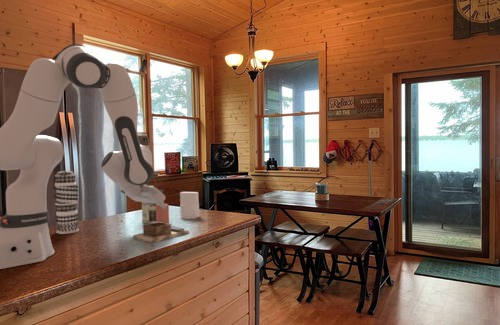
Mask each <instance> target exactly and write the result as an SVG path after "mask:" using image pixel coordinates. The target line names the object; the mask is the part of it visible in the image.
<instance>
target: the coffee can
mask: <svg viewBox="0 0 500 325" xmlns="http://www.w3.org/2000/svg"><path fill="white" fill-rule="evenodd" d="M158 190H159V191H160V192H161V193H163V194H164V195H165V190H164V189H158ZM163 202H164V203H165V200H164V201H163ZM141 214H142V215H141V216H142V223H144V224H150V223H155V222H156V204H154V203H153V205H152V207H148V206H147V205H146V204H144V203H142V202H141Z"/></svg>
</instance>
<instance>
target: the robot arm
mask: <svg viewBox="0 0 500 325" xmlns="http://www.w3.org/2000/svg"><path fill="white" fill-rule="evenodd" d="M69 84H73V85H75V86H76V87H78V88H81V89H97V90H98V91H99V93H100V97H101V101H102V103H103V104H104V106H103V107H104V108H105V110H106V112H107V115H108V117H109V119H110V121H111V123H112V125H113V126H112V127H113V128H114V130H115V133H116V135H117V139H118V142H119V146H120V148H121V150H117V151H116V150H112V151H110V152H108V153H107V154H106V155H105V156H104V158H103V159H102V161H101V164H100V168H101V170H102V171H103V173H104V174H105V175H106V176H107V177H108V178H109V179H110V180H111V181H112V182H113V183H115V184H117V185H118V186H119V188H120V189H119V191H120V193H122V194H125V196H127V197H128V198H130V199H131V201H132V200H133V201H134V202H140V203H141V204H142V203H144V204H146V205H147V206H148V207H152V205H153V203H154V204H159V205H160V206H159V207H161V208H162V209H165V207H166V205H165V204H166V203H165V200H166V195H165V193H164V194H163V193H161V192H160V191H159V190H160V189H158V188H157V187H155V186H154V185H147V184H149V183H151V181H152V180H153V179H154V175H155V174H154V172H155V171H154V169H153V168H154V167H153V152H152V151H151V148H149V147H148V146H146V145H144V144H141V142H140V140H139V136H138V119H139V118H138V116H139V104H138V103H139V102H138V97H137V93H136V91H135V87H134V84H133V82H132V79H131V76H130V75H129V73H128V71H127V69H126V67H125V65H123V64H121V63H119V62H116V61H110V62H103V61H102V60H101V59H100V58H99V57H98V56H97V55H96V54H95V53H94V52H93V51H92V50H91V49H90V48H88V47H86V46H84V45H82V44H77V43H76V44H75V43H73V44H68V45H67V46H65V47H63V48H62V49H61V50H60V51H59V52H58V53H57V54H55V55H54V56H53V58H52V59H51V58H45V57H43V58H37V59H35V60H33V61H32V62H31V64H30V66H29V68H28V70H27V72H26V73H25V76H24V78H23V81H22V83H21V87H20V90H19V93H18V96H17V101H16V102H15V103H16V104H15V106H14V109H13V111H12V113H11V114H10V116H9V118H8V119H7V121H6V122H5V123H4V124H3V125H2V126H0V171H15V170H17V171H18V170H20V173H19V175H18V177H17V178H16V180H15V181H14V182H12V183H10V184H9V185H8V186H7V188H6V190H5V207H6V213H5V215H3V216H0V270H3V269H7V268H13V267H14V268H15V267H19V266H24V265H28V264H33V263H34V264H35V263H39V262H44V261H45V260H47V258H49V257H51V256H53V255H54V254H55V249H54V247H53V244H52V239H51V236H50V230H49V227H50V212H49V210H48V206H47V205H48V204H47V194H48V193H47V192H48V190H47V188H48V183H49V180H50V177H51V175H52V172H53V171H54V169H55V168H56V167H57V166H58V165H59V164H60V163H61V162H62V160H63V157H64V154H65V153H64V152H65V151H64V150H65V149H64V146H63V143H62V142H61V141H60V139H58V138H56V137H53V136H49V135H44V134H41V132H43V131H44V130H46V129H49V128H50V127H51V126H53V124H54V123H55V120H56V118H57V116H58V110H59V108H60V104H61V102H62V98H63V94H64V92H65V90H66V88H67V87H68V85H69ZM163 201H164V202H163Z"/></svg>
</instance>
